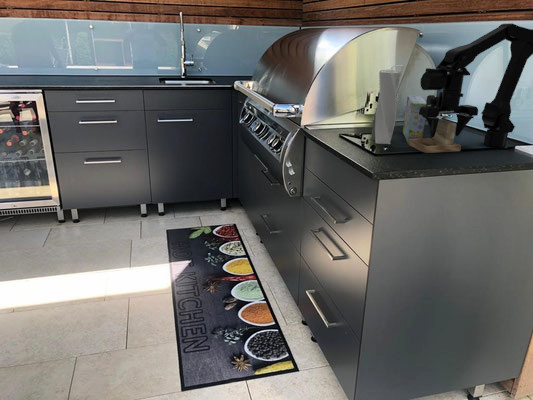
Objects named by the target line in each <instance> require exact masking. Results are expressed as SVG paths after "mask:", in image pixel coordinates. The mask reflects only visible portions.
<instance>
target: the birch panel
mask: <svg viewBox="0 0 533 400" xmlns="http://www.w3.org/2000/svg"><path fill="white" fill-rule="evenodd" d="M456 126H457V122H456V123H455V122H452V121H449V120H446V119H443V118H439V121H438V125H437V129H436V133H435V136H434V137H431V138H432V140H434V141H436V142H439V143H441V144H443V145H453V143H454V140H455V136H456V135H455V134H456Z"/></svg>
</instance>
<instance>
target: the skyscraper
mask: <svg viewBox="0 0 533 400" xmlns="http://www.w3.org/2000/svg"><path fill="white" fill-rule="evenodd" d="M396 67H402V68H401V70H400V72H399V71H396V69H394V68H396ZM404 67H405V66H404V65H403V64H395V65H393V66H392V67H391V68H388V69H381V70H379V73H378V77H379V79H378V80H379V96H378V100H377V105H376V108H375V111H374V115H373V117H374V118H373V120H372V128H371V131H370V134H371V135H370V136H371V137H370V140H371V141H375V142H374V143H375V144H379V145H391V141H392V139H393V133H394V129H395V124H396V120H397V108H398V105H397V104H398V102H397V99H398V98H397V92H398V89H399V84H400V81H401V77H402V72H403V70H404Z"/></svg>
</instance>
